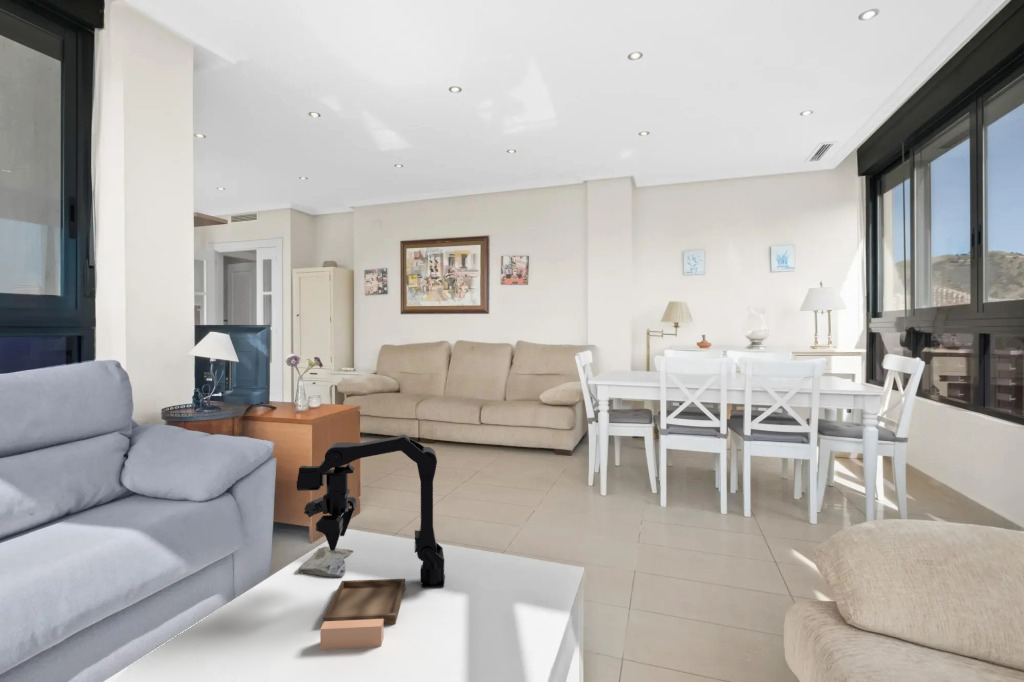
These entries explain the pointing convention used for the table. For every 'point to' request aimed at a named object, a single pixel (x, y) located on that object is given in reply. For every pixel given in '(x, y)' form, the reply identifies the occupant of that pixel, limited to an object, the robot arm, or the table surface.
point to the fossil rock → (326, 562)
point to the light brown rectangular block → (352, 633)
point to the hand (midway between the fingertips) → (337, 542)
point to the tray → (366, 600)
